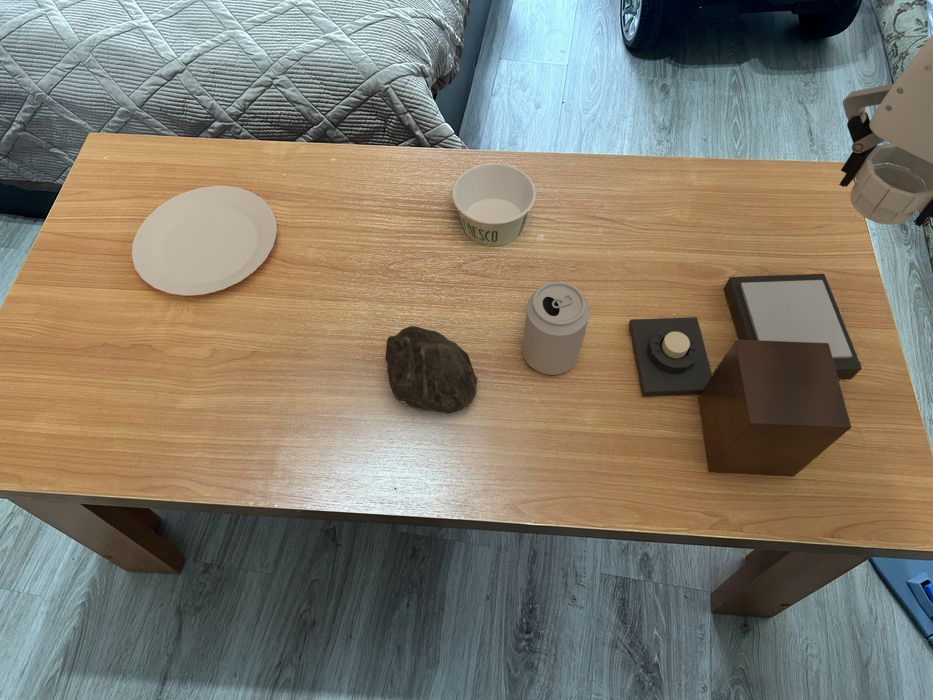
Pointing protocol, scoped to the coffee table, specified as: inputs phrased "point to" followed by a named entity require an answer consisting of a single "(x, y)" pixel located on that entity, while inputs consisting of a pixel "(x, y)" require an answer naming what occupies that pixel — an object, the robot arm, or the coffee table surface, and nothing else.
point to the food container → (493, 202)
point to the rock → (429, 371)
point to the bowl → (892, 185)
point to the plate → (204, 240)
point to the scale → (791, 314)
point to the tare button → (675, 345)
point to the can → (554, 327)
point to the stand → (771, 408)
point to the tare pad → (665, 372)
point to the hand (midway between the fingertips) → (885, 196)
